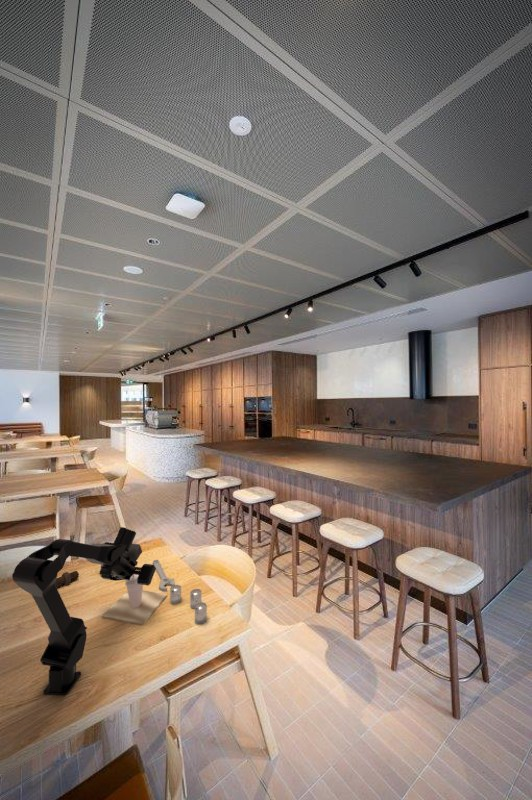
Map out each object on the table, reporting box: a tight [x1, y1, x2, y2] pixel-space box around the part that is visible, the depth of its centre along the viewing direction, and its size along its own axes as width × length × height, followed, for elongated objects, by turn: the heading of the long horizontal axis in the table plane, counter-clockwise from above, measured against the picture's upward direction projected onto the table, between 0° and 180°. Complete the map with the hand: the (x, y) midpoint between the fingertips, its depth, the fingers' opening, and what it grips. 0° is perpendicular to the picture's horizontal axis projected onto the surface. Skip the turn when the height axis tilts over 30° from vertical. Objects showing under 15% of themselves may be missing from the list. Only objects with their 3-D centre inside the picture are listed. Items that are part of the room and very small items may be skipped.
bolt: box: [55, 570, 80, 588], centre depth 130 cm, size 6×5×15 cm
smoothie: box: [124, 574, 144, 608], centre depth 118 cm, size 6×6×14 cm
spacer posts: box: [169, 584, 208, 625], centre depth 118 cm, size 8×19×5 cm, turn 48°
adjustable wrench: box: [152, 559, 176, 593], centre depth 140 cm, size 25×6×2 cm, turn 26°
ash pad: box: [101, 589, 168, 626], centre depth 119 cm, size 16×16×1 cm
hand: (138, 579), depth 120 cm, fingers open, 7 cm apart
